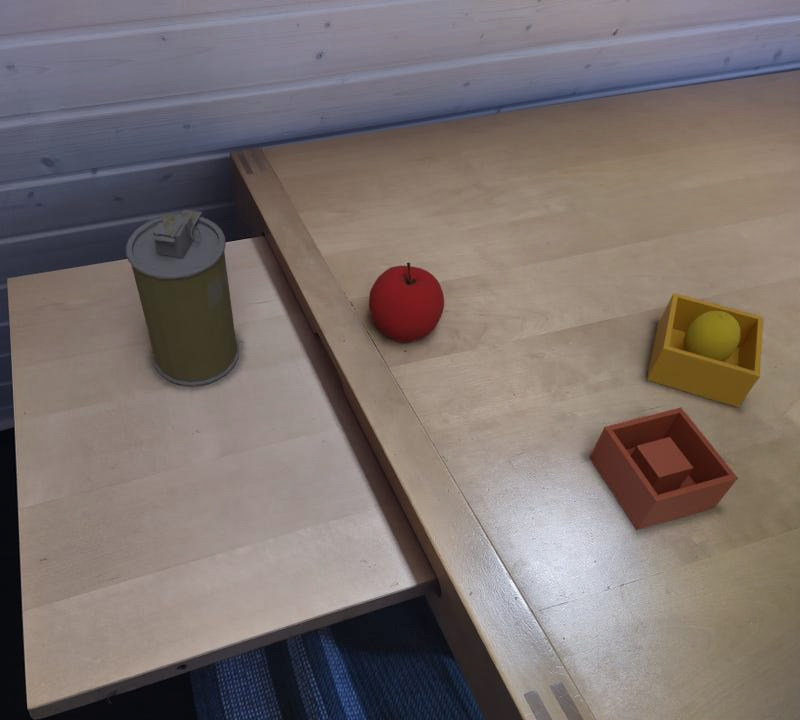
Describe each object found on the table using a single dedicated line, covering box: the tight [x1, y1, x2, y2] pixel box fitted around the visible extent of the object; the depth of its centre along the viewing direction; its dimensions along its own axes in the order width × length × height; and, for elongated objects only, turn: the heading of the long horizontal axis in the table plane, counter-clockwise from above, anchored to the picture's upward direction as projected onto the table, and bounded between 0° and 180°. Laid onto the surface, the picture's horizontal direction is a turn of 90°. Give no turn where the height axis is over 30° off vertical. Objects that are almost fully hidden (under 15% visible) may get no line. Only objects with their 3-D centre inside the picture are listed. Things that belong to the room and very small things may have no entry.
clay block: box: [631, 437, 693, 495], centre depth 74 cm, size 4×4×4 cm
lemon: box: [683, 311, 740, 362], centre depth 83 cm, size 6×6×8 cm
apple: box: [368, 262, 445, 343], centre depth 87 cm, size 9×9×10 cm
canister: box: [125, 209, 240, 387], centre depth 81 cm, size 11×10×20 cm
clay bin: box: [589, 406, 739, 531], centre depth 73 cm, size 9×9×6 cm
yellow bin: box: [646, 292, 764, 408], centre depth 85 cm, size 10×10×6 cm
